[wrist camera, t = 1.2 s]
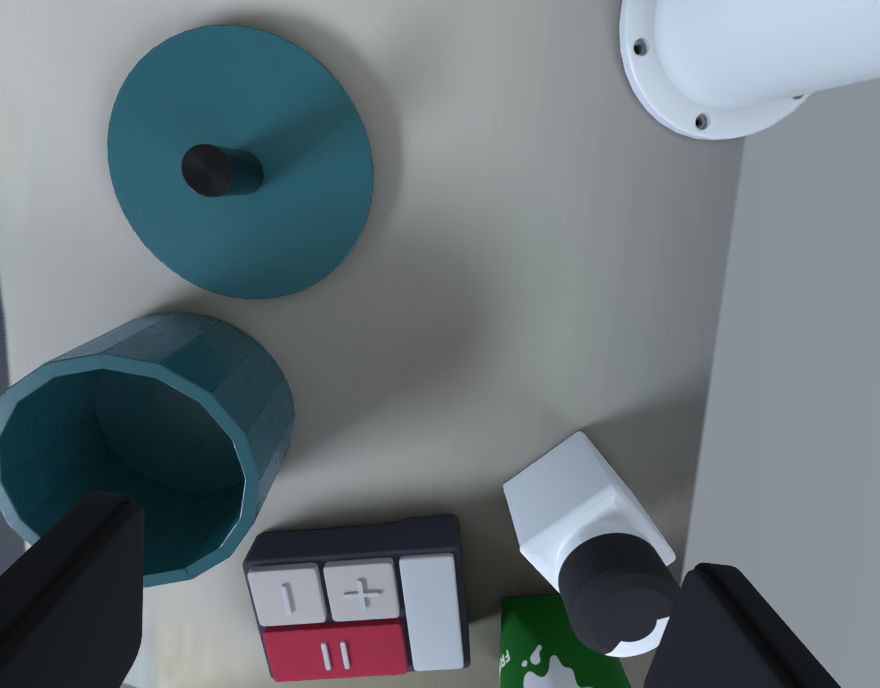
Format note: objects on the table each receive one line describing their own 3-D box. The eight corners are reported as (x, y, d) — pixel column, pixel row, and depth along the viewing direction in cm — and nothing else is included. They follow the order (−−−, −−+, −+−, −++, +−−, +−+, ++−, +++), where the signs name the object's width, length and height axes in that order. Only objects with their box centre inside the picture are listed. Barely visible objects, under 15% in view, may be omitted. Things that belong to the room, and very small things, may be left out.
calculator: (235, 569, 34) (460, 554, 33) (258, 527, 38) (458, 513, 38) (267, 691, 37) (471, 678, 37) (284, 640, 41) (468, 628, 41)
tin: (87, 292, 32) (-23, 330, 24) (307, 335, 33) (273, 384, 25) (84, 479, 36) (-13, 566, 28) (280, 510, 37) (243, 601, 29)
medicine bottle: (499, 484, 37) (536, 619, 26) (579, 427, 36) (655, 541, 25) (555, 545, 39) (613, 696, 28) (633, 492, 38) (726, 627, 27)
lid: (123, -3, 27) (39, -55, 21) (396, 68, 29) (390, 39, 23) (113, 268, 31) (41, 288, 25) (351, 316, 33) (337, 346, 27)
